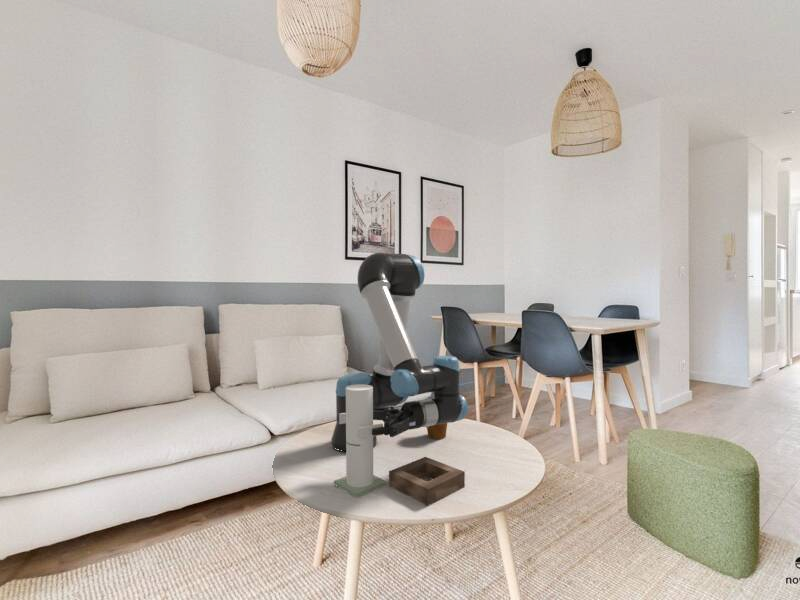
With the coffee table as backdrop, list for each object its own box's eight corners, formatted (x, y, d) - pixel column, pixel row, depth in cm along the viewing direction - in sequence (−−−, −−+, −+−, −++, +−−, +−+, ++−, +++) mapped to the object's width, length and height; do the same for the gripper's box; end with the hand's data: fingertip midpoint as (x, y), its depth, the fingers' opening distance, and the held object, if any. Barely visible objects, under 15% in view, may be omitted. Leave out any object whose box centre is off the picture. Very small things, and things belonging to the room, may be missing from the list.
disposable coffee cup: (454, 434, 151) (454, 401, 151) (443, 442, 143) (443, 407, 142) (430, 430, 156) (430, 397, 155) (418, 437, 147) (418, 403, 147)
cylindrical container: (376, 485, 109) (375, 389, 109) (348, 488, 107) (348, 391, 107) (370, 473, 116) (369, 383, 116) (344, 477, 114) (343, 385, 114)
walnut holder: (389, 486, 111) (389, 471, 111) (425, 470, 120) (425, 456, 120) (428, 505, 101) (428, 489, 100) (464, 486, 110) (464, 471, 110)
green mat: (333, 484, 112) (333, 480, 112) (363, 473, 119) (363, 469, 119) (356, 497, 105) (356, 493, 105) (386, 484, 111) (386, 481, 111)
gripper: (443, 440, 109) (368, 456, 99) (398, 416, 131) (332, 426, 121) (443, 411, 109) (367, 424, 99) (398, 392, 131) (332, 400, 121)
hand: (348, 425), depth 110 cm, fingers open, 13 cm apart
